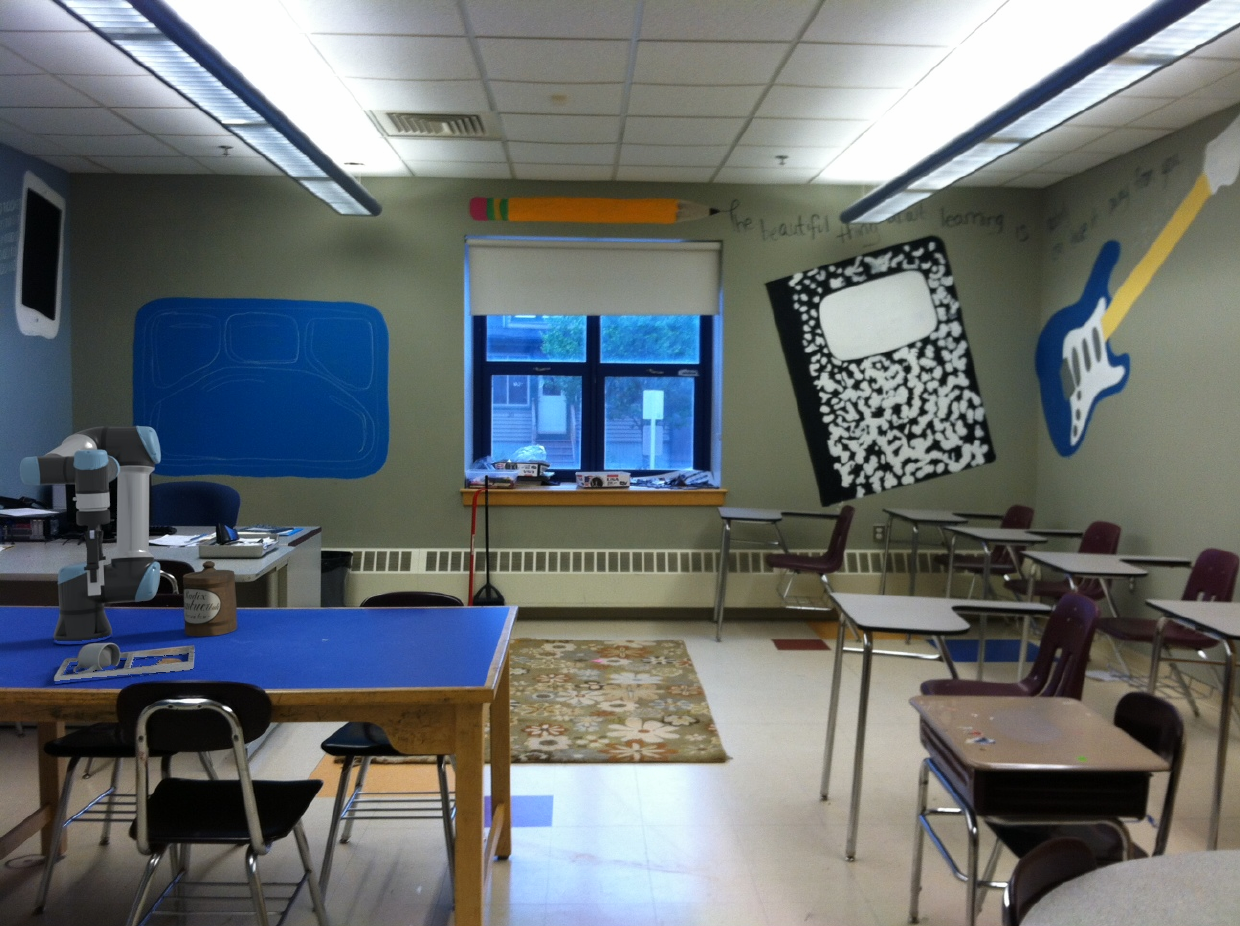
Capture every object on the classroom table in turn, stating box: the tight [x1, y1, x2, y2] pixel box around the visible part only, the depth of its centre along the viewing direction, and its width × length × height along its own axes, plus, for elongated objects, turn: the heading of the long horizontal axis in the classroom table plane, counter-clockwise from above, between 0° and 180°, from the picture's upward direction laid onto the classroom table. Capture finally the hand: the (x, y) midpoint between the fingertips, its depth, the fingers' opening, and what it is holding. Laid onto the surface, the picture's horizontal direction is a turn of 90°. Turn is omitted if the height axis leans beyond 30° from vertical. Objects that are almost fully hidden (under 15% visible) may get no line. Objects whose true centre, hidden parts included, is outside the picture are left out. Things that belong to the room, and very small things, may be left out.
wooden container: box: [182, 560, 238, 638], centre depth 275 cm, size 15×15×22 cm
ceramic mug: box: [73, 642, 121, 674], centre depth 232 cm, size 10×8×7 cm
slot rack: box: [53, 644, 196, 681], centre depth 236 cm, size 19×31×2 cm, turn 115°
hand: (96, 590), depth 231 cm, fingers open, 13 cm apart
